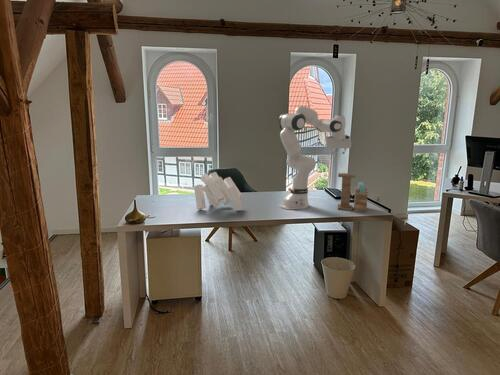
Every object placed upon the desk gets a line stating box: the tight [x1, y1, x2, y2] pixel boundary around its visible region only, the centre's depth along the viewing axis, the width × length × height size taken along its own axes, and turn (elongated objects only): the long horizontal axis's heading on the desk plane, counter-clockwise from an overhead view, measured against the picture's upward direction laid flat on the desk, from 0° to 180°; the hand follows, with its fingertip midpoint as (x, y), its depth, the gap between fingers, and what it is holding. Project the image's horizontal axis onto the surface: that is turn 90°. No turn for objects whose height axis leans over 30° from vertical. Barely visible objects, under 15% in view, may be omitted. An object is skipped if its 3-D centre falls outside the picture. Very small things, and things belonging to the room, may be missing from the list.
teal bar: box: [357, 181, 366, 193], centre depth 257 cm, size 22×4×4 cm, turn 166°
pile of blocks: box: [193, 171, 244, 212], centre depth 263 cm, size 35×30×35 cm
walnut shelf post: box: [337, 172, 356, 211], centre depth 260 cm, size 10×12×26 cm
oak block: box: [353, 187, 369, 213], centre depth 259 cm, size 12×8×15 cm, turn 166°
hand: (337, 153), depth 279 cm, fingers open, 8 cm apart
